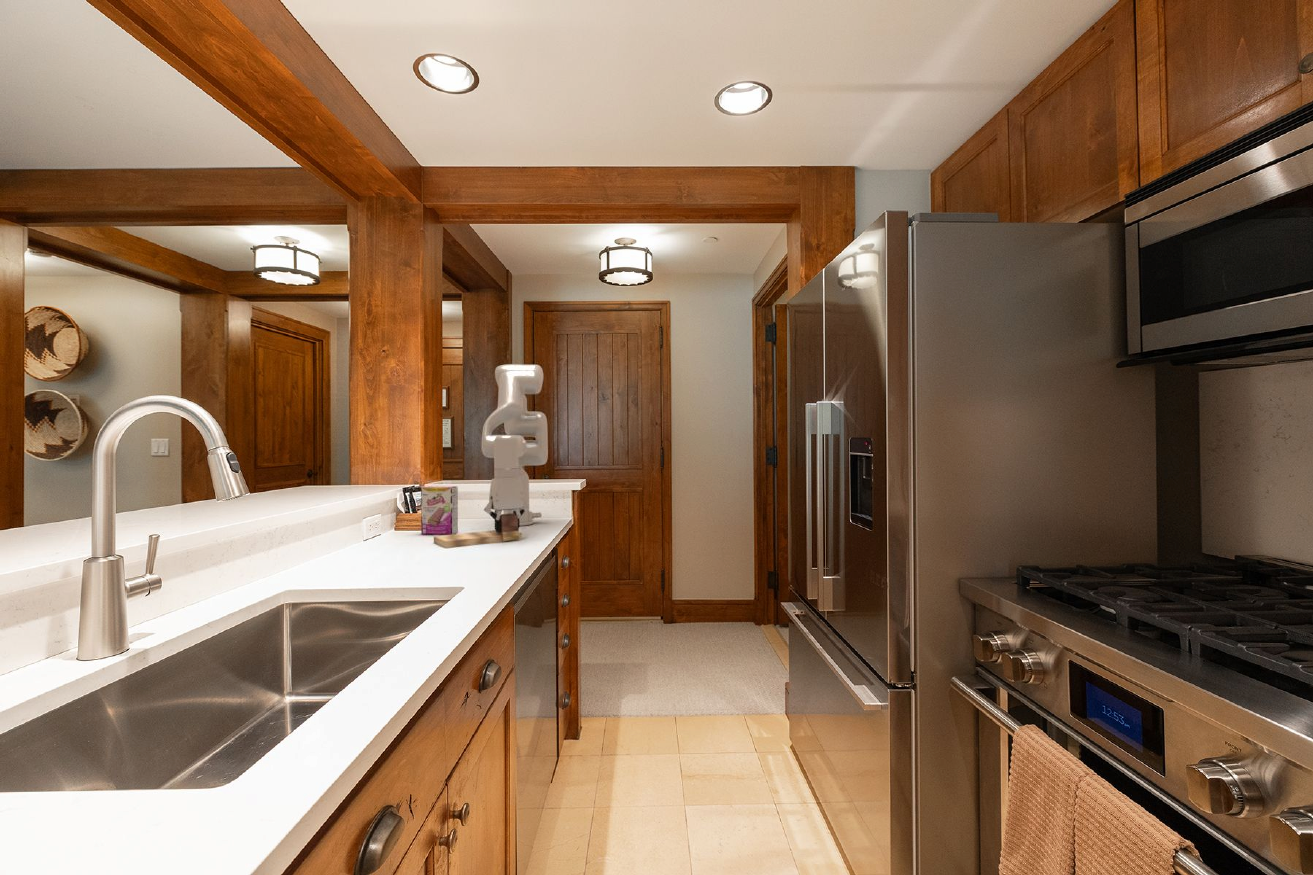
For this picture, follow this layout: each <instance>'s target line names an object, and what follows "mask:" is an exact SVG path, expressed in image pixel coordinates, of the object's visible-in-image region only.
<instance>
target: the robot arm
mask: <svg viewBox="0 0 1313 875" xmlns="http://www.w3.org/2000/svg"><path fill="white" fill-rule="evenodd" d="M543 371H544V370H543V368H542V367H541V366H540V365H539V364H515V363H514V364H513V363H511V364H509V363H508V364H502V365H501V364H500V365H498V366H496V367H495V370H494V377H495V382H496V384H497V387H498V396H497V408H496V409H495V410H494V411H493V412H492V413H491V414H490V415H489V416H488V417H487V418H486V420H485V422H484V424H483V427H482V433H481V434H482V436H481V452H482V454H483V456H484V457H485V458H489V459H493V462H494V464H493V465H494V470H493V471H494V478H492V479H491V481H490V482H491V483H490V487H489V498H488V503H487V505H486V506H485V507H484V509H483V511H484V512H485V513H487V514H488V515H489V516H490V517H491V518H492V519H493V520H494V530H496V532H498V533H501V532H502V529H501V520H500V516H501V514H502V513H503V514H516V515H518V531H520V530H519V529H520V527H523V526H524V527H525V526H530V525H533V524H534V519H535V518H536V519H537V518H542V512H533V511H530V477H529V475H528V473H527V472H526V471H525V469H524V468H523V467H524V466H542V465H546V463H547V461H548V455H549V449H548V448H549V445H548V444H549V441H548V438H549V437H548V433H549V432H548V419H547V416H546V414H545V413H543V412H542V411H529V410H528V399H527V396H526V395H537V394H539V393H540V392H541V391H542V387H543V382H544V372H543ZM500 425H503V427H504V432H505V434H492V433H493V432H494V430H495V429H496V428H497V427H498V426H500ZM524 437H525V438H526V437H532V438H535V440H533V439H530V440H528V439H527V440H525V438H524ZM493 510H494V511H493ZM502 511H503V512H502Z"/></svg>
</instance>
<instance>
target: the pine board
mask: <svg viewBox="0 0 1313 875" xmlns="http://www.w3.org/2000/svg"><path fill="white" fill-rule="evenodd" d="M522 534H523V533H522V532H519V539H515V540H506V541H503V535H500V534H497V532H496V530H495V529H492V530H485V531H484V530H483V531H475V532H466V533H465V532H463V533H456V534H453V535H433V543H434V544H435V545H438V546H440V547H442V548H445V549H450V548H458V547H460V548H461V547H468V546H477V545H485V544H494V543H503V542H513V541H520V540H522V539H523V537H522Z"/></svg>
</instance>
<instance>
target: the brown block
mask: <svg viewBox="0 0 1313 875" xmlns="http://www.w3.org/2000/svg"><path fill="white" fill-rule="evenodd" d="M500 520H501V529H502V532H501V533H498V532H497V534H500V535H503V541H504V542H507V541H506V540H513V541H516V540H515V539H519V533H520V530H518V515H516V514H504V513H503V514H502V513H501V516H500Z"/></svg>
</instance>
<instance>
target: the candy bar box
mask: <svg viewBox="0 0 1313 875" xmlns="http://www.w3.org/2000/svg"><path fill="white" fill-rule="evenodd" d="M420 488H421V489H420V491H421V492H420V500H421V501H420V511H421V512H420V514H421V520H420V522H421V523H420V524H421V528H420V531H421V532H420V534H421V535H422V536H423V535H425V536H428V535H429V536H443V535H453V534H459V517H458V516H459V515H458V514H459V513H458V512H459V510H458V509H459V508H458V507H459V506H458V505H459V504H458V503H459V502H458V499H459V498H458V495H459V492H458V491H459V489H458V488H459V487H458V486H457V485H423V486H421V487H420Z"/></svg>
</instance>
